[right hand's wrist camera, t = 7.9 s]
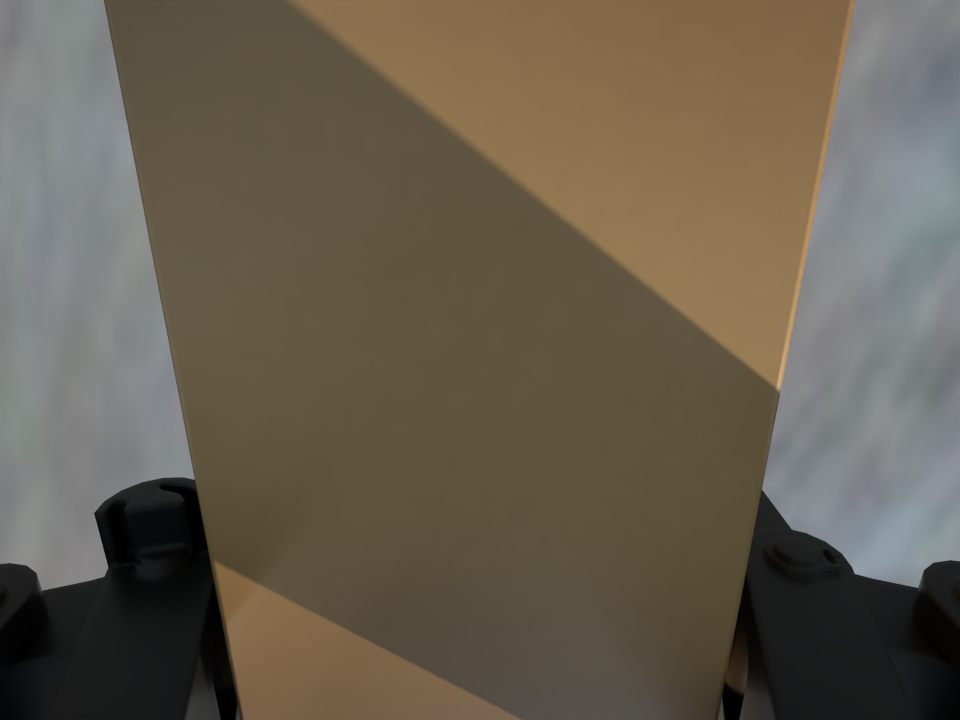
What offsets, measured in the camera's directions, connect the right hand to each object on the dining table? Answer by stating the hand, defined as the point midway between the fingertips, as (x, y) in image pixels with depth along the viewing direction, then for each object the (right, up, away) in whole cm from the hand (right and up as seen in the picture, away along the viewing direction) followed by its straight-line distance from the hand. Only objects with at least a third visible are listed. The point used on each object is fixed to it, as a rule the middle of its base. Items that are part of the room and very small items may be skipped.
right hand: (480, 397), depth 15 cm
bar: (0, +12, -4) cm, 12 cm away
